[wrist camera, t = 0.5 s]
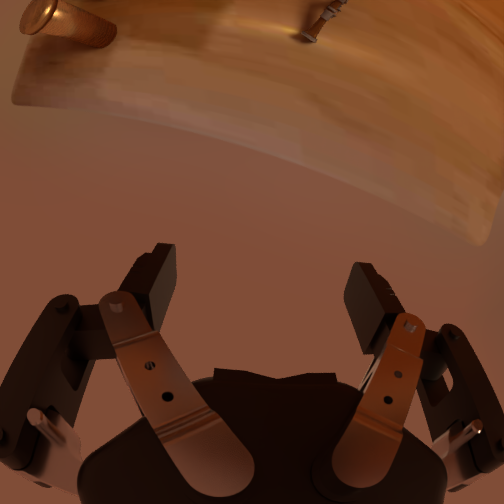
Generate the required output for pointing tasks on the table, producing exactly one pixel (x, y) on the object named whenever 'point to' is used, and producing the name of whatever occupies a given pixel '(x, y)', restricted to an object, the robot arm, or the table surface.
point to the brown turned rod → (323, 19)
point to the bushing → (67, 23)
